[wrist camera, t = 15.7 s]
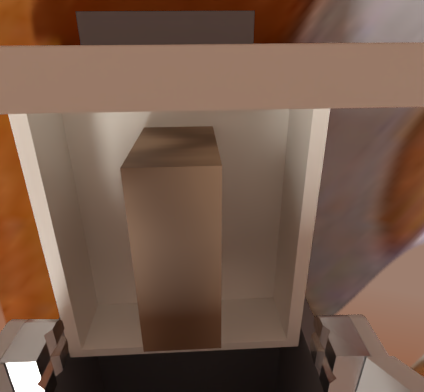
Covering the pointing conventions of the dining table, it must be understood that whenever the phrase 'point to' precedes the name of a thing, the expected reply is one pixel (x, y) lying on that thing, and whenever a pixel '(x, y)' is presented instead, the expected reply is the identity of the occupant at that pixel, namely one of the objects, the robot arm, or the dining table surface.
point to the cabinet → (199, 369)
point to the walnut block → (176, 236)
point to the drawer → (186, 117)
